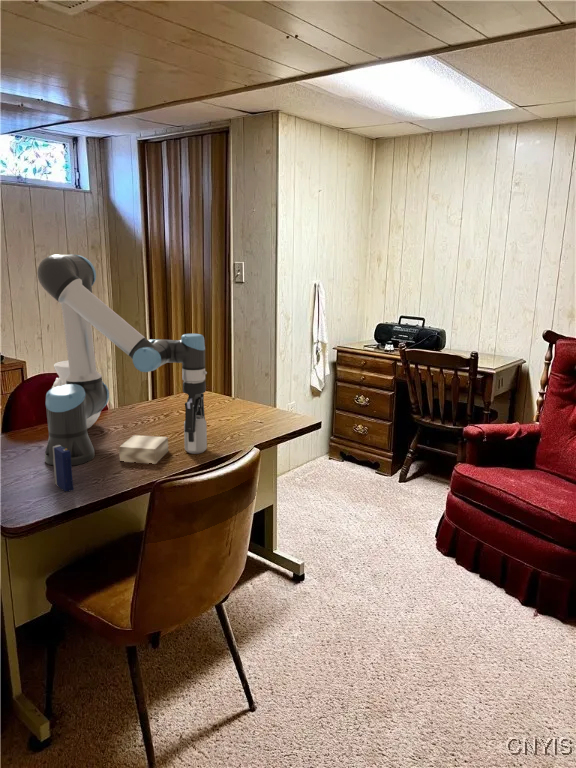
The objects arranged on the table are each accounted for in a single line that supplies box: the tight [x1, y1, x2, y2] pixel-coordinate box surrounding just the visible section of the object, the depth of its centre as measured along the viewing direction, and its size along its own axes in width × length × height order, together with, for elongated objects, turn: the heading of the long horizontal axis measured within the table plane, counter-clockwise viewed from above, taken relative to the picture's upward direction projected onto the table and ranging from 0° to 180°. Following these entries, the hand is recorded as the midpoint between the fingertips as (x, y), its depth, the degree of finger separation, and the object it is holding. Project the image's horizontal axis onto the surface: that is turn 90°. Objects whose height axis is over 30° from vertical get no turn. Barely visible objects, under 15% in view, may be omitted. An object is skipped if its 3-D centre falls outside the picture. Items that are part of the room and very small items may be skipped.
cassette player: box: [53, 445, 74, 492], centre depth 161 cm, size 7×2×12 cm, turn 43°
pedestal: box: [118, 434, 169, 465], centre depth 187 cm, size 12×12×5 cm
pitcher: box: [51, 359, 102, 429], centre depth 215 cm, size 19×18×25 cm
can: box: [183, 415, 208, 455], centre depth 192 cm, size 8×8×12 cm
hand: (195, 446), depth 193 cm, fingers closed on can, 7 cm apart
